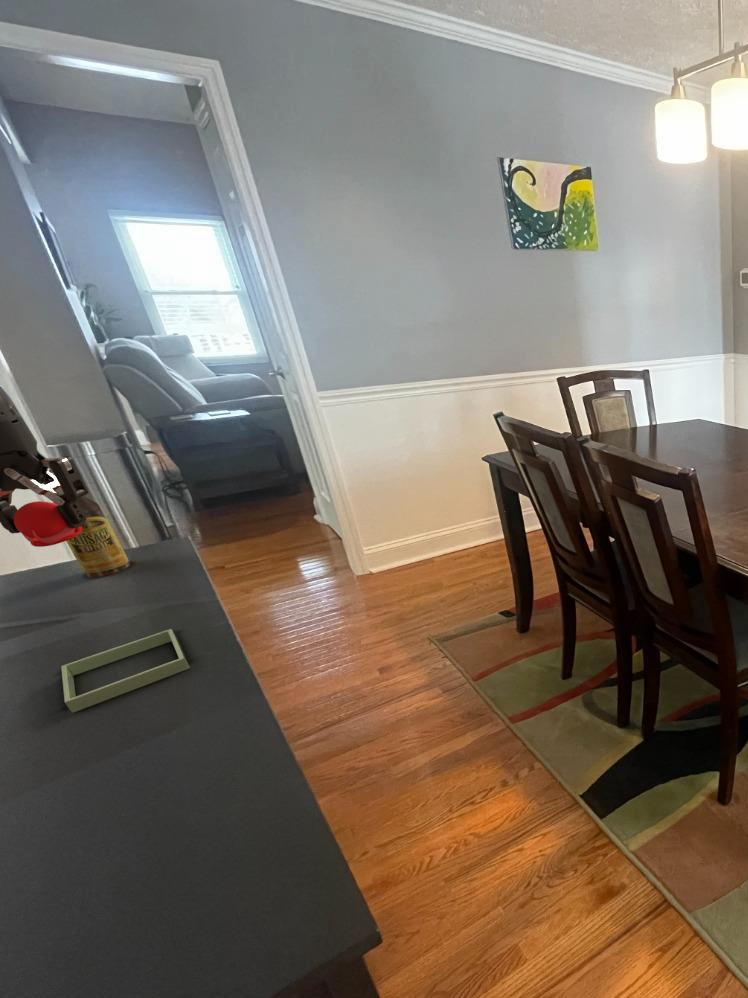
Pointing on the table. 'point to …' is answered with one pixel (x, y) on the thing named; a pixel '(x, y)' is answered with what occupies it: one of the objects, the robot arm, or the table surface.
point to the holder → (127, 683)
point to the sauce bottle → (96, 543)
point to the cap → (43, 524)
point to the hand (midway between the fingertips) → (49, 528)
